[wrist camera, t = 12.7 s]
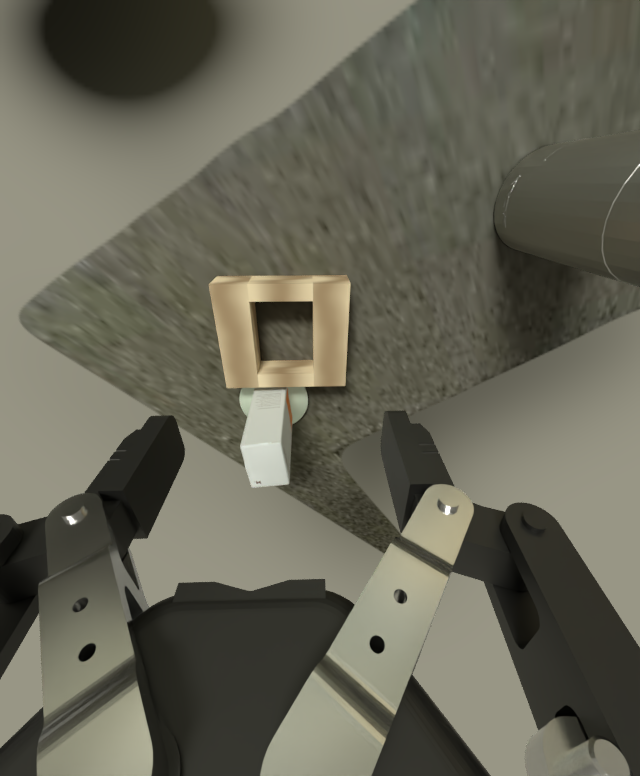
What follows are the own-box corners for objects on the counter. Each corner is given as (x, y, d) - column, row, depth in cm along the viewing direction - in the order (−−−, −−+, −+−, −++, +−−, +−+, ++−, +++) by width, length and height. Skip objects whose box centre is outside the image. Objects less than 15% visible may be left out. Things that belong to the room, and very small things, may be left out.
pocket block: (346, 275, 35) (350, 283, 32) (342, 371, 42) (345, 385, 39) (217, 276, 35) (208, 284, 32) (232, 373, 41) (226, 388, 38)
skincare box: (293, 417, 44) (290, 486, 34) (262, 420, 45) (250, 489, 34) (287, 379, 41) (281, 442, 31) (254, 382, 41) (237, 446, 31)
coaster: (307, 368, 41) (307, 371, 41) (308, 424, 46) (308, 427, 45) (236, 369, 41) (235, 372, 40) (244, 426, 46) (243, 428, 45)
